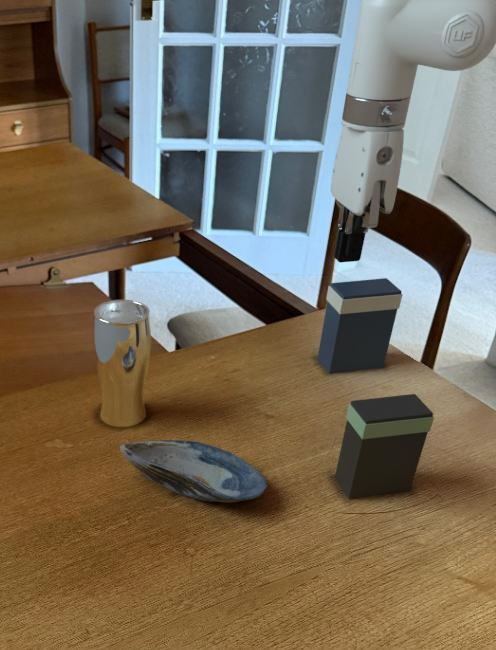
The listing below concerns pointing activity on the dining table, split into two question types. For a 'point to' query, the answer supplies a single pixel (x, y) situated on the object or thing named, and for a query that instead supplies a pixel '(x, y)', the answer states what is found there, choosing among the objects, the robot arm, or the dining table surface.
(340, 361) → the navy blue box
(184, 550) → the dining table surface
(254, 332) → the dining table surface
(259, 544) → the dining table surface
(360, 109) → the robot arm
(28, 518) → the dining table surface
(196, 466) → the seashell
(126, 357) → the beer glass
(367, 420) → the dark grey rectangular block
